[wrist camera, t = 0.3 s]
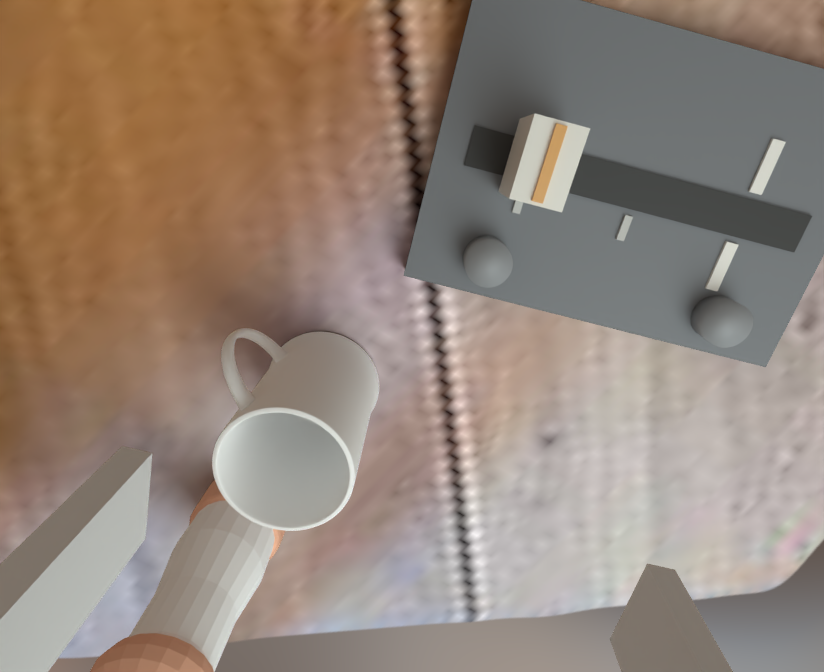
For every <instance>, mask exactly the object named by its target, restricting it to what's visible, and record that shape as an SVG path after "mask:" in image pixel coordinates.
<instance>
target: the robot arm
mask: <svg viewBox="0 0 824 672" xmlns="http://www.w3.org/2000/svg"><path fill="white" fill-rule="evenodd" d="M151 465H152V453H151V452H146V451H142V450H137V449H133V448H128V447H124V446H122V447H121V448H120V449H119V450H118V451H117V452H116V453H115V454H114V455H113V456H112V457H111V458H110V459H109V460H107V461H106V462H105V463H104V464H103V465H102V466H101V467H100V468H99V469H98V470H97V471H96V472H95V473H94V474H93V475H92V476H91V477H90V478H89V479H88V480H87V481H86V482H85V483H84V484H83V485H82V486H81V487H80V488H79V489H77V490H76V491H75V492H74V493H73V494H72V495H71V496H70V497H69V498H68V499H67V500H66V501H65V502H64V503H63V504H62V505H61V506H60V507H59V508H58V509H57V510H56V511H55V512H54V513H53V514H52V515H51V516H50V517H49V518H48V519H46V520H45V521H44V522H43V523H42V524H41V525H40V526H39V527H38V528H37V529H36V530H35V531H34V532H33V533H32V534H31V535H30V536H29V537H28V538H27V539H26V540H25V541H24V542H23V543H22V544H21V545H20V546H19V547H18V548H16V549H15V550H14V551H13V552H12V553H11V554H10V555H9V556H8V557H7V558H6V559H5V560H4V561H3V562H2V563H1V564H0V672H48V671H49V670H50V668H51V667H52V665H53V664H54V663H55V661H56V660H57V659H58V657H59V656H60V655H61V653H62V652H63V650H64V649H65V648H66V646H67V645H68V644H69V642H70V641H71V640H72V638H73V637H74V635H75V634H76V633H77V631H78V630H79V629H80V627H81V626H82V624H83V623H84V622H85V620H86V619H87V618H88V616H89V615H90V614H91V612H92V611H93V609H94V608H95V607H96V605H97V604H98V603H99V601H100V600H101V599H102V597H103V596H104V594H105V593H106V592H107V590H108V589H109V588H110V586H111V585H112V584H113V582H114V581H115V579H116V578H117V577H118V575H119V574H120V573H121V571H122V570H123V569H124V567H125V566H126V564H127V563H128V562H129V560H130V559H131V558H132V556H133V555H134V554H135V552H136V551H137V549H138V548H139V547H140V545H141V544H142V543H143V541H144V540H145V538H146V526H147V514H148V502H149V490H150V477H151ZM610 641H611V644H612V646H613V649H614V652H615V655H616V658H617V660H618V663H619V666H620V669H621V672H733V671H732V670H731V668H730V666H729V664H728V662H727V661H726V659H725V657H724V655H723V654H722V652H721V650H720V648H719V647H718V645H717V643H716V641H715V640H714V638H713V636H712V634H711V632H710V631H709V629H708V627H707V625H706V624H705V622H704V620H703V618H702V617H701V615H700V613H699V611H698V610H697V608H696V606H695V604H694V603H693V601H692V599H691V597H690V595H689V594H688V592H687V590H686V588H685V587H684V585H683V583H682V581H681V580H680V578H679V576H678V574H677V573H676V571H675V570H673V569H669V568H664V567H660V566H655V565H651V564H647V565H646V567H645V569H644V571H643V573H642V575H641V577H640V579H639V581H638V583H637V585H636V587H635V589H634V591H633V593H632V596H631V598H630V600H629V602H628V604H627V606H626V608H625V610H624V612H623V614H622V616H621V618H620V620H619V622H618V624H617V626H616V628H615V630H614V632H613V634H612V636H611V638H610Z"/></svg>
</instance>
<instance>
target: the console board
mask: <svg viewBox="0 0 824 672" xmlns="http://www.w3.org/2000/svg"><path fill="white" fill-rule="evenodd" d="M534 113H535V114H539V115H543V116H546V117H550V118H554V119H557V120H561V121H565V122H569V123H572V124H576V125H580V126H583V127H587V128H590V131H589V134H588V137H587V140H586V143H585V146H584V149H583V152H582V155H581V158H580V161H579V164H578V167H577V170H576V172H575V175H574V178H573V181H572V184H571V187H570V190H569V193H568V196H567V199H566V202H565V205H564V208H563V211H562V212H558V211H554V210H550V209H547V208H543V207H539V206H535V205H531V204H527V203H524V202H520V201H516V200H512V199H509V198H507V197H506V196H504V195H503V194H501V193H499V192H498V191H499V188H500V184H501V181H502V177H503V174H504V171H505V167H506V164H507V160H508V157H509V154H510V150H511V147H512V143H513V140H514V137H515V133H516V130H517V126H518V123H519V120H520V118H523V117H526V116H529V115H532V114H534ZM823 255H824V69H822V68H819V67H815V66H812V65H808V64H805V63H801V62H798V61H794V60H791V59H787V58H783V57H780V56H776V55H773V54H769V53H766V52H762V51H759V50H755V49H752V48H748V47H744V46H741V45H737V44H734V43H730V42H727V41H723V40H720V39H716V38H713V37H709V36H706V35H702V34H698V33H695V32H691V31H688V30H684V29H681V28H677V27H674V26H670V25H667V24H663V23H660V22H656V21H652V20H649V19H645V18H642V17H638V16H635V15H631V14H628V13H624V12H621V11H617V10H613V9H610V8H606V7H603V6H599V5H596V4H592V3H589V2H585V1H582V0H472V3H471V7H470V11H469V15H468V19H467V23H466V27H465V31H464V35H463V39H462V43H461V47H460V51H459V55H458V59H457V63H456V67H455V71H454V75H453V79H452V83H451V87H450V91H449V95H448V99H447V103H446V107H445V111H444V115H443V119H442V124H441V128H440V132H439V136H438V140H437V144H436V148H435V152H434V156H433V160H432V164H431V168H430V172H429V176H428V180H427V184H426V188H425V192H424V196H423V200H422V204H421V208H420V212H419V216H418V220H417V224H416V228H415V232H414V236H413V240H412V244H411V248H410V252H409V256H408V260H407V264H406V268H405V272H404V276H407V277H411V278H415V279H419V280H423V281H427V282H431V283H435V284H439V285H443V286H447V287H451V288H455V289H459V290H463V291H467V292H471V293H475V294H479V295H483V296H486V297H490V298H494V299H498V300H502V301H506V302H510V303H514V304H518V305H522V306H526V307H530V308H534V309H538V310H542V311H546V312H550V313H554V314H558V315H562V316H566V317H569V318H573V319H577V320H581V321H585V322H589V323H593V324H597V325H601V326H605V327H609V328H613V329H617V330H621V331H625V332H629V333H633V334H637V335H641V336H645V337H649V338H652V339H656V340H660V341H664V342H668V343H672V344H676V345H680V346H684V347H688V348H692V349H696V350H700V351H704V352H708V353H712V354H716V355H720V356H724V357H728V358H732V359H736V360H739V361H743V362H747V363H751V364H755V365H759V366H763V367H766V366H767V364H768V362H769V360H770V358H771V356H772V354H773V352H774V350H775V348H776V346H777V344H778V342H779V340H780V338H781V336H782V335H783V333H784V331H785V329H786V327H787V325H788V323H789V321H790V319H791V317H792V315H793V313H794V311H795V309H796V307H797V305H798V304H799V302H800V300H801V298H802V296H803V294H804V292H805V290H806V288H807V286H808V284H809V282H810V280H811V278H812V276H813V274H814V273H815V271H816V269H817V267H818V265H819V263H820V261H821V259H822V257H823Z"/></svg>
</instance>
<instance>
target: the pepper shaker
mask: <svg viewBox="0 0 824 672" xmlns="http://www.w3.org/2000/svg"><path fill="white" fill-rule="evenodd" d="M284 533H285V530H277V529H272V528H268V527H264V526H262V525H259V524H257V523H254V522H252V521H250V520H249V519H247V518H245V517H244V516H242V515H241V514H240V513H238V512H237V511H236V510H235V509H234V508H233V507H232V506H231V505H230V504H229V503H228V502H227V501H226V500H225V498H224V497H223V495H222V494H221V492H220V490H219V489H218V486H217V484H216V482H215V480H214V481H213V482H212V483H211V485H210V486H209V488H208V489H207V491H206V492H205V494H204V495H203V497H202V498H201V500H200V501H199V503H198V504H197V506H196V507H195V509H194V511H193V513H192V514H191V516H190V524H189V527H188V528H187V530H186V531H185V532H184V534H183V535H182V537H181V538H180V540H179V541H178V543H177V544H176V546H175V548H174V550H173V551H172V554H171V556H170V559H169V561H168V564H167V566H166V569H165V571H164V573H163V576H162V578H161V581H160V583H159V586H158V588H157V591H156V593H155V595H154V597H153V598H152V600H151V602H150V603H149V605H148V606H147V608H146V610H145V611H144V613H143V615H142V616H141V618H140V620H139V621H138V623H137V624H136V626H135V628H134V629H133V631H132V633H131V634H130V636H129V637H127V638H124V639H123V640H121V641H120V642H118V643H117V644H115V645H114V646H113V647H111V648H110V649H109V650H107V651H106V652H105V653H104V654H102V655H101V656H100V657H99V658H98V659H97V660H96V662H95V664H94V666H93V667H92V669H91V671H90V672H214V671H215V669H216V667H217V664H218V662H219V659H220V657H221V655H222V652H223V650H224V648H225V645H226V643H227V641H228V639H229V636H230V634H231V632H232V629H233V627H234V624H235V622H236V621H237V619H238V618H239V616H240V614H241V613H242V611H243V610H244V608H245V606H246V605H247V603H248V602H249V600H250V598H251V597H252V595H253V594H254V592H255V590H256V589H257V587H258V586H259V584H260V583H261V580H262V578H263V575H264V572H265V569H266V566H267V564H268V561H269V559H271V558H272V557H273V556H274V554H275V553H276V551H277V550H278V548H279V546H280V543H281V541H282V538H283V535H284Z"/></svg>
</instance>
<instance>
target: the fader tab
mask: <svg viewBox="0 0 824 672" xmlns="http://www.w3.org/2000/svg"><path fill="white" fill-rule="evenodd" d="M589 131H590V128H587V127H583V126H580V125H576V124H572V123H569V122H565V121H561V120H557V119H554V118H550V117H546V116H543V115H539V114H535V113H534V114H532V115H529V116H526V117H523V118H520V120H519V123H518V126H517V130H516V133H515V137H514V140H513V143H512V147H511V150H510V154H509V157H508V160H507V164H506V167H505V171H504V174H503V177H502V181H501V184H500V188H499V191H498V192H499V193H501V194H503V195H504V196H506V197H507V198H509V199H512V200H516V201H520V202H524V203H527V204H531V205H535V206H539V207H543V208H547V209H550V210H554V211H558V212H562V211H563V208H564V205H565V202H566V199H567V196H568V193H569V190H570V187H571V184H572V181H573V178H574V175H575V172H576V170H577V167H578V164H579V161H580V158H581V155H582V152H583V149H584V146H585V143H586V140H587V137H588V134H589Z"/></svg>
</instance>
